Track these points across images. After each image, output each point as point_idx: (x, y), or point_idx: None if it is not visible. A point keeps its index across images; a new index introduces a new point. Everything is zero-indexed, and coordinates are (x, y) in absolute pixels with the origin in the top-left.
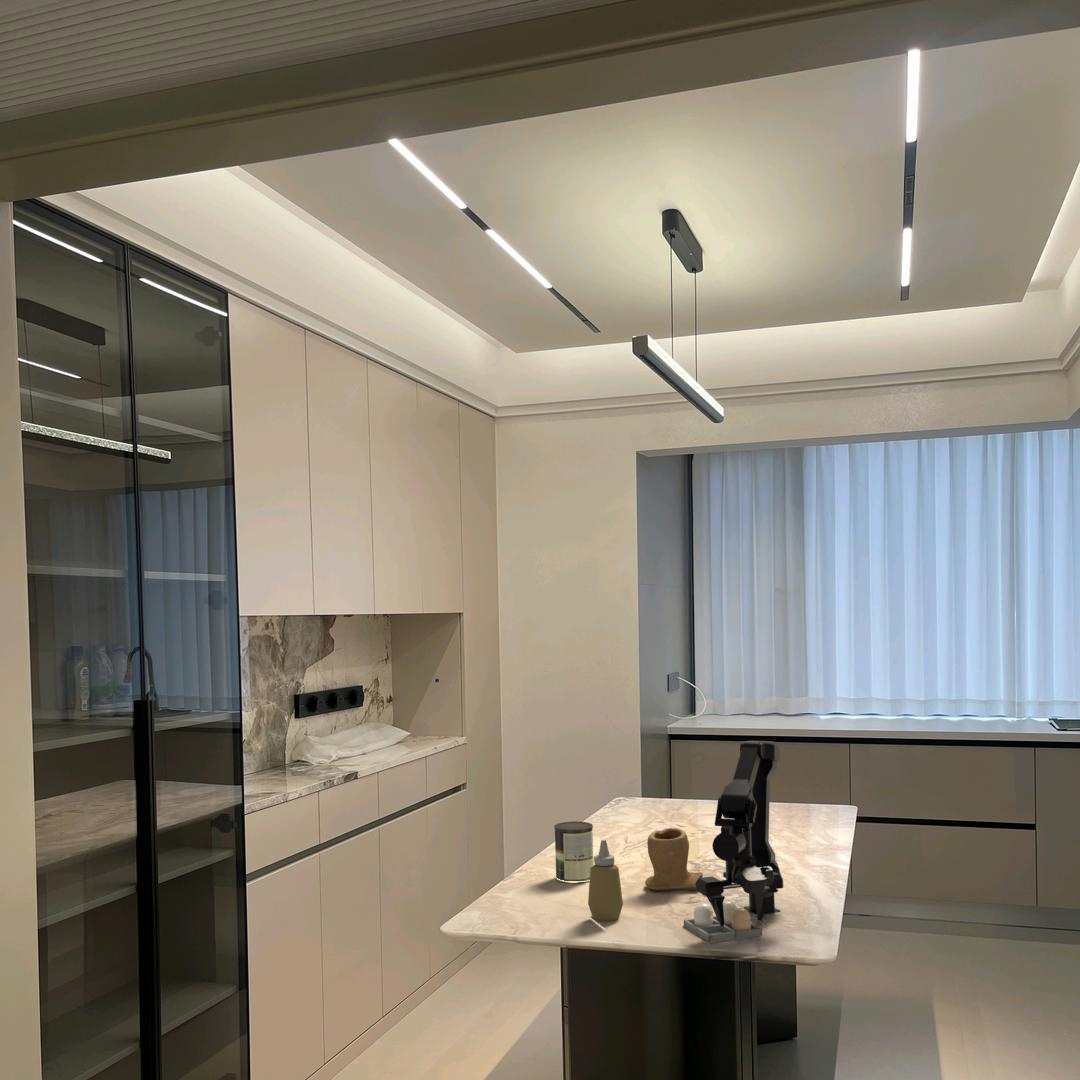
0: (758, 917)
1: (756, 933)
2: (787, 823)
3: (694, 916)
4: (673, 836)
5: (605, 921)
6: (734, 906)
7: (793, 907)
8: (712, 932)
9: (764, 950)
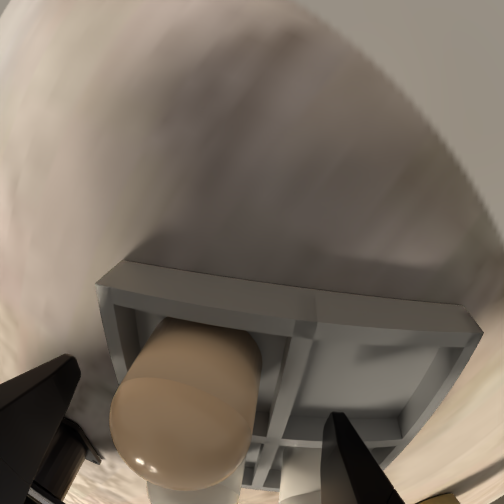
0: (70, 380)
1: (144, 280)
2: None
3: None
4: None
5: (451, 494)
6: (161, 495)
7: None
8: None
9: (251, 31)
